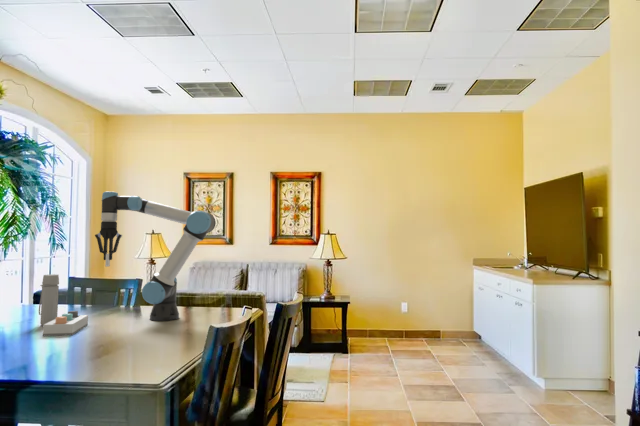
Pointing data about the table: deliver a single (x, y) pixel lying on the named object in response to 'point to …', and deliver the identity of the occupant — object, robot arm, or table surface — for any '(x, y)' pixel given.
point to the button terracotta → (61, 320)
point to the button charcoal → (74, 313)
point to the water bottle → (49, 298)
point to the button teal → (68, 316)
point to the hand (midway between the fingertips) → (107, 266)
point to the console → (65, 326)
